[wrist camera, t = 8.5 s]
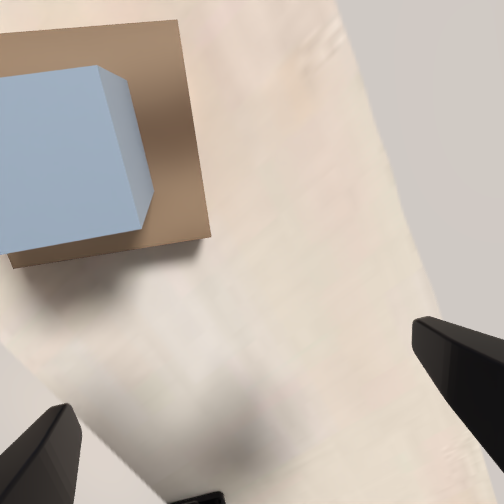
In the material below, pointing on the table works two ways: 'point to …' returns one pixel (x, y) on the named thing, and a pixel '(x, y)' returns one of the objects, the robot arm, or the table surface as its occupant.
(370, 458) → the table surface
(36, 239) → the slate block
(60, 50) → the walnut block
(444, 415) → the table surface
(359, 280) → the table surface
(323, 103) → the table surface
